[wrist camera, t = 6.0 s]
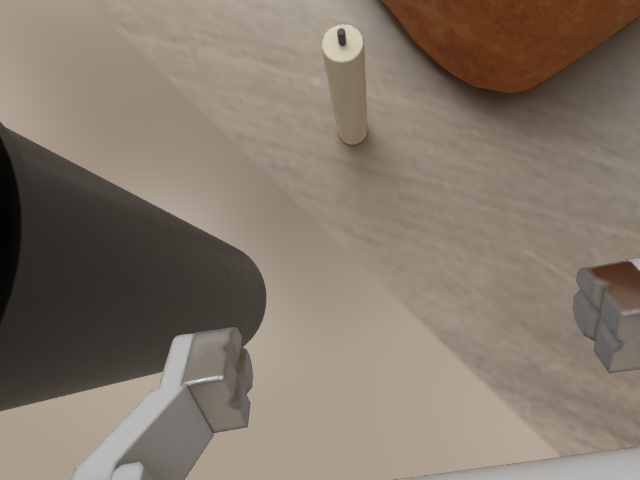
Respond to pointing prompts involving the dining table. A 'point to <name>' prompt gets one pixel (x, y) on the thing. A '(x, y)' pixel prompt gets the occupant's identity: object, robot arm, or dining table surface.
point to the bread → (510, 35)
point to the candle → (347, 80)
